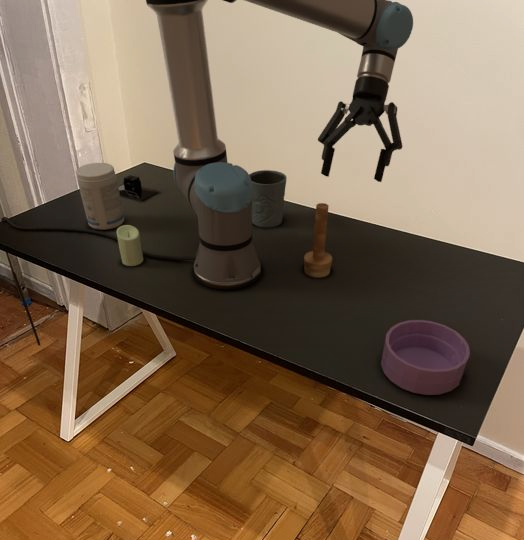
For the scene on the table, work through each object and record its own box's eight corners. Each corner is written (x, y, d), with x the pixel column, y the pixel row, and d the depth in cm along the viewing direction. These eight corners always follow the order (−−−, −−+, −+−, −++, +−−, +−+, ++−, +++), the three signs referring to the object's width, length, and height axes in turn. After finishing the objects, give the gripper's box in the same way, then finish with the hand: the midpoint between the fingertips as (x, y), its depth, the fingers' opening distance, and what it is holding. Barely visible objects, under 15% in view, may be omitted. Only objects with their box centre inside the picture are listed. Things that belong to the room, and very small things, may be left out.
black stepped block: (110, 192, 155) (107, 177, 152) (126, 184, 160) (124, 169, 157) (142, 201, 150) (139, 185, 147) (158, 192, 155) (156, 177, 152)
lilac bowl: (368, 377, 93) (372, 351, 89) (397, 336, 102) (402, 311, 98) (446, 408, 87) (455, 382, 83) (470, 362, 96) (479, 336, 92)
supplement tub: (124, 214, 144) (115, 160, 134) (125, 229, 137) (115, 174, 127) (88, 217, 142) (76, 163, 133) (87, 233, 135) (74, 177, 126)
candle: (147, 262, 123) (142, 230, 118) (127, 268, 121) (121, 236, 116) (138, 253, 127) (132, 222, 121) (118, 259, 124) (112, 228, 119)
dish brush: (298, 272, 120) (301, 207, 110) (311, 261, 124) (316, 197, 114) (322, 280, 117) (329, 214, 107) (335, 268, 122) (342, 203, 111)
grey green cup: (252, 230, 136) (252, 185, 129) (244, 214, 144) (243, 171, 136) (289, 226, 138) (291, 182, 131) (279, 210, 146) (280, 168, 138)
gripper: (432, 88, 113) (407, 186, 117) (331, 88, 126) (311, 176, 130) (421, 73, 107) (395, 178, 110) (317, 75, 120) (296, 168, 123)
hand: (350, 177), depth 120 cm, fingers open, 13 cm apart
